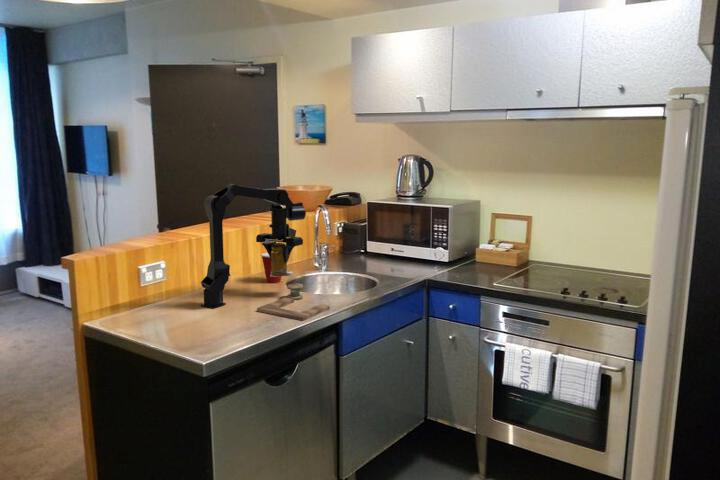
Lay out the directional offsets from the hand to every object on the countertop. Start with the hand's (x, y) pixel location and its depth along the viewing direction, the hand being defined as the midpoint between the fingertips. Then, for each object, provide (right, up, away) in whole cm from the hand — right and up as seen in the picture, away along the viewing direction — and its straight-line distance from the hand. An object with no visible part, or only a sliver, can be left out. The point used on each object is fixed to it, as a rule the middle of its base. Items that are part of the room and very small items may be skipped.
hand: (279, 261), depth 225 cm
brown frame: (+8, -17, -18) cm, 25 cm away
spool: (+6, -14, -2) cm, 15 cm away
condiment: (+1, -5, +1) cm, 5 cm away
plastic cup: (-5, -10, +23) cm, 25 cm away
